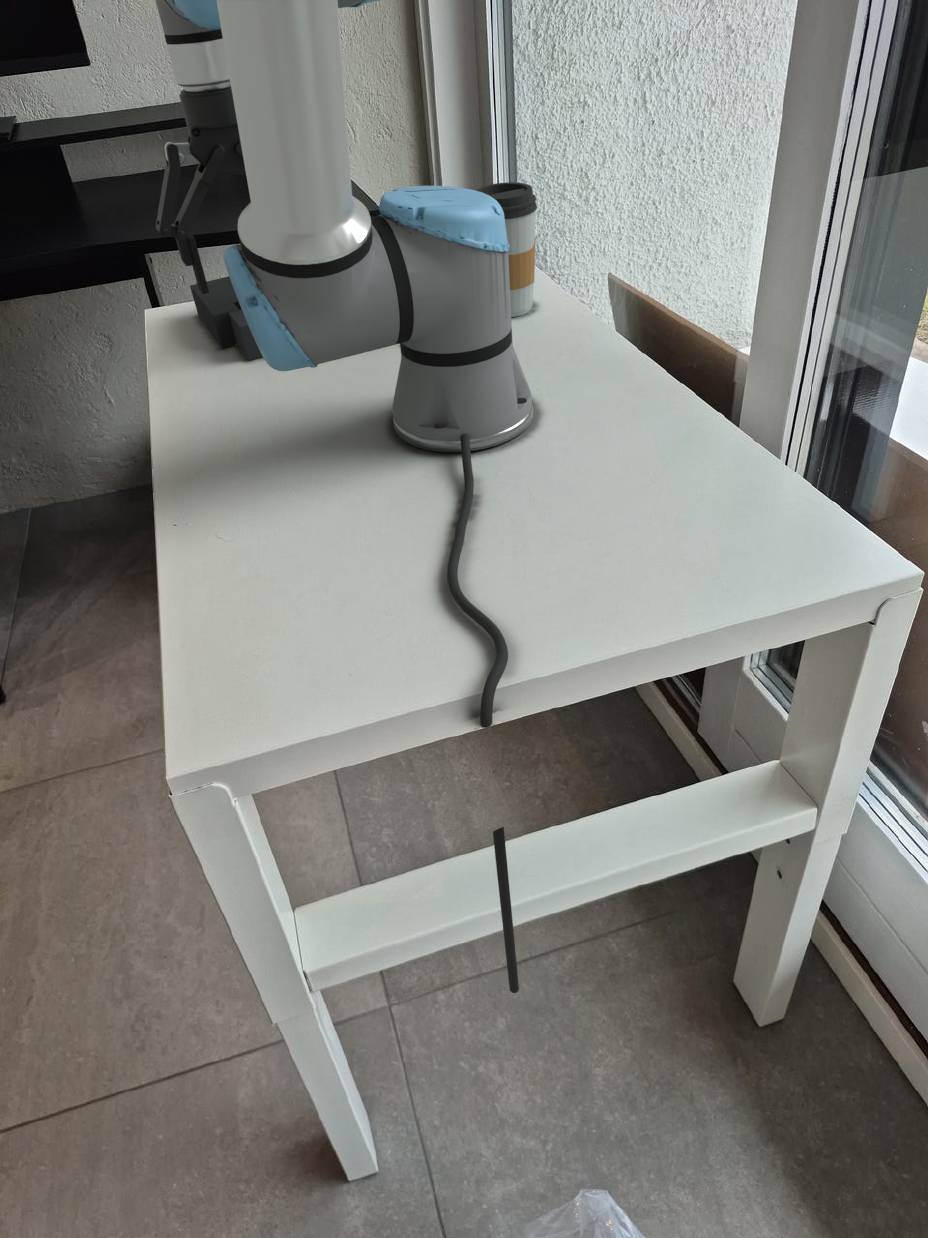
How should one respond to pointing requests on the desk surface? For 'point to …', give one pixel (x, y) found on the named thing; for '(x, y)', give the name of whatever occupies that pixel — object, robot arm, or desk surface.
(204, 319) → the notched pad
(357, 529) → the desk surface
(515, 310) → the coffee cup
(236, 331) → the pad
